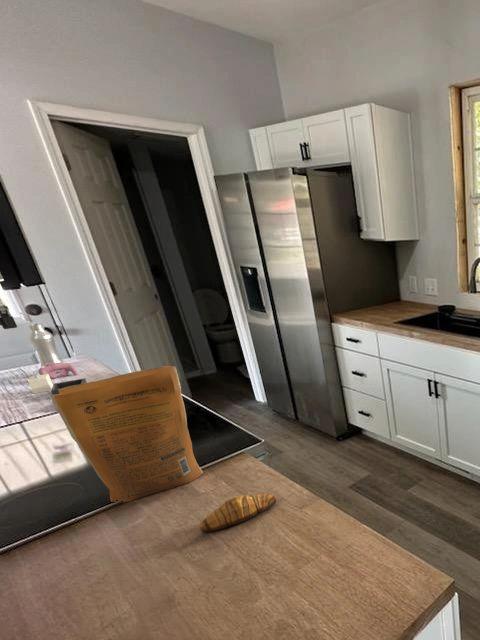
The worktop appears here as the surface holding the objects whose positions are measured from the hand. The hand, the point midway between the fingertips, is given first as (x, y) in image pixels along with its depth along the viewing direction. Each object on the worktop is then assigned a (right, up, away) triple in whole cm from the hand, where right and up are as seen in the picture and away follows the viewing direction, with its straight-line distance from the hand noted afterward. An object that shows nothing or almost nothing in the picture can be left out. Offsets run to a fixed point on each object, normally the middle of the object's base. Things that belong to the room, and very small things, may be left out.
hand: (8, 326), depth 146 cm
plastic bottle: (-8, -16, +23) cm, 29 cm away
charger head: (+7, -23, +5) cm, 24 cm away
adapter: (+20, -23, +2) cm, 31 cm away
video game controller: (0, -18, +17) cm, 25 cm away
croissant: (+124, -48, -63) cm, 147 cm away
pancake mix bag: (+100, -45, -53) cm, 121 cm away
